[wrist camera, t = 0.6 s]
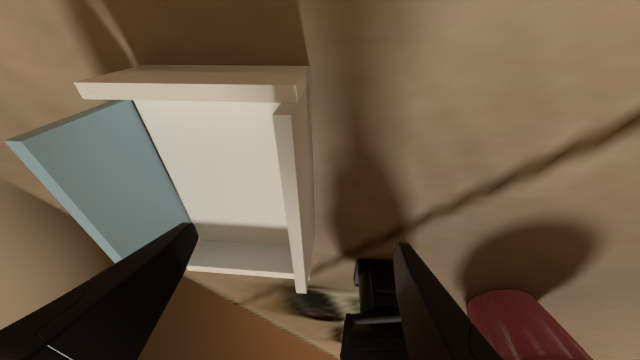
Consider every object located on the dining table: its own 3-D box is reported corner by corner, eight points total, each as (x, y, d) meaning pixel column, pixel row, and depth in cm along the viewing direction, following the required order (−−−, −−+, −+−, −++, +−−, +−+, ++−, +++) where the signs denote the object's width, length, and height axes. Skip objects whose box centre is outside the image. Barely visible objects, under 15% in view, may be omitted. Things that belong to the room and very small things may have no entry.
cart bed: (315, 236, 29) (306, 298, 23) (212, 229, 30) (177, 287, 24) (309, 65, 18) (289, 95, 11) (143, 64, 19) (37, 91, 12)
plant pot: (483, 269, 30) (554, 400, 20) (581, 289, 31) (698, 426, 21) (432, 315, 39) (463, 424, 29) (509, 330, 39) (567, 442, 29)
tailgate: (196, 234, 27) (154, 296, 21) (184, 233, 27) (138, 295, 21) (130, 98, 18) (20, 141, 12) (111, 98, 18) (-7, 140, 12)
